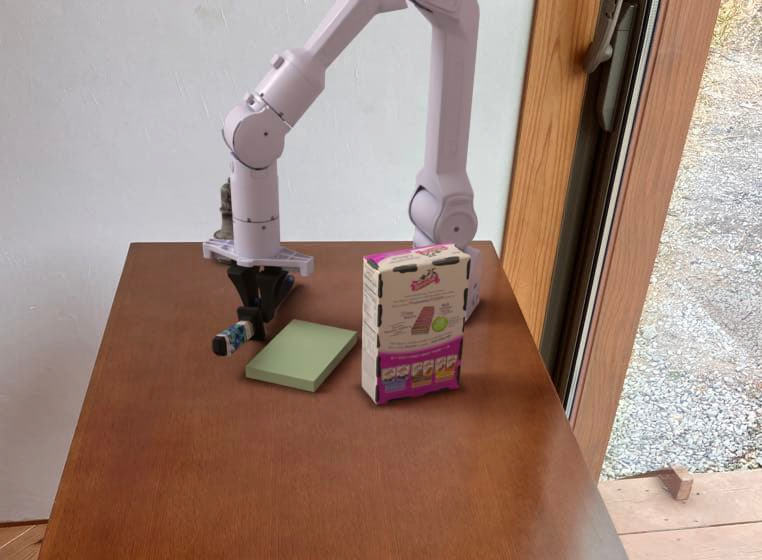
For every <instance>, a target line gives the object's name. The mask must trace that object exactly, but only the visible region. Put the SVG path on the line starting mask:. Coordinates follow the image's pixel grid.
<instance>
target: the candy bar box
mask: <svg viewBox="0 0 762 560" xmlns="http://www.w3.org/2000/svg"><path fill="white" fill-rule="evenodd" d="M362 257H363V259H362V323H361V324H362V326H361V329H362V330H361V331H362V332H361V341H362V342H361V388H362V389H363V391H364V393H366V394H367V395H368V396H369V398H370V399H371V400H372V401H373V403H374V404H375V405H376V406H382V405H386V404H390V403H396V402H400V401H406V400H409V399H414V398H419V397H423V396H427V395H428V396H429V395H433V394H436V393H441V392H446V391H450V390H451V391H452V390H455V389H459V388H460V382H461V381H460V380H461V371H462V370H461V369H462V359H463V348H464V337H465V325H466V322H465V317H466V306H467V297H468V285H469V275H470V263H471V256H470V255H469V254H467V253H466V252H464V251H463V250H462V249H460V248H459V247H456V244H454V243H452V242H449V243H443V244H437V245H430V246H423V247H417V248H413V247H411V248H405V249H399V250H398V249H397V250H393V251H386V252H381V253H374V254H368V255H363V256H362Z"/></svg>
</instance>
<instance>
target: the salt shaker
mask: <svg viewBox="0 0 762 560" xmlns="http://www.w3.org/2000/svg"><path fill="white" fill-rule="evenodd" d="M226 181H227V182H226V183H224V184H222V185H221V186H220V191H219V192H220V203H221V206H220V207H219V208H218V211H219V212H220V214H221V228H220V229H218V230H216V231H215V232H213V235H212V236H213V239H220V240H234V232H233V216H232V201H231V185H230V176H228V178H227V179H226ZM216 259H217V261H218V262H219V263H222V264H224V265H228V266H230V264H231V261H230V260H225V259H219V258H216Z"/></svg>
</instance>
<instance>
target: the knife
mask: <svg viewBox="0 0 762 560" xmlns="http://www.w3.org/2000/svg"><path fill="white" fill-rule="evenodd" d="M295 280H296V277H295V276H294V275H293V274H288V275H287V277H286V279H285V281H284V283H283V285H282V288H281V290H280V293H279V296H278V300H277V304H276V309H277V308H278V307H279V306H280V305H281V303H282V302H283V301H284V300H285V298H286V297H287V296H288V294H289V293H290V292H291V290H292V288H293V286H294V284H295ZM236 315H237V319H238V322H237V323H235V324H233V325H232V326H230V327H229V328H227V329H225V330H223V331H221V332H219V333H218V334H216V335H215V336H214V337H213V339H212V340H211V351H212V352H213V354H214V355H216V356H217V357H218V358H222V359H228V358H229V357H231V356H232V355H233V354H234V353H235V352H236V351H237V350H239V348H240V347H242V346H243V345H244V344H245V343H247V341H249V340H256V341H257V340H258V341H259V340H260V341H264V340H266V339H265V338H266V335H267V334H266V329H265V328H266V327H265V323H263V318H262V308H261V296H259V298H257V297H256V298H255V307H244V305H239V306H238V307H237V309H236Z"/></svg>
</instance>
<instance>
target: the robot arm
mask: <svg viewBox="0 0 762 560" xmlns="http://www.w3.org/2000/svg"><path fill="white" fill-rule="evenodd" d="M408 1H409V2H410V3H412V5H413V6H414V7H415V8H416V10H418V11H419V13H420V14H421V15H422V16H423V17H424V18H425V19H426V20H427V22H428V23H429V24H430V25H431V43H430V58H429V74H428V75H429V77H428V90H427V91H428V93H427V108H426V109H427V110H426V128H425V144H424V160H423V166H422V167H421V169H420V170H419V171H418V172H417V174H416V176H415V185H414V188H413V192H412V194H411V195H410V197H409V200H408V202H407V203H408V204H407V215H408V219H409V220H410V222H411V223H412V225H413V226H414V234H413V237H412V248H417V247H423V246H430V245H437V244H443V243H449V242H452V243H454V244H456V247H459V248H460V249H462V250H463V251H464V252H466V253H467V254H469V255H470V256H471V263H470V275H469V285H468V297H467V306H466V317H465V323H466V322H467V321H468V320H469V318H470V316H471V315H472V313H473V312H474V311H475V309H476V308H477V306H478V305H479V303H480V290H481V281H482V275H483V274H482V273H483V266H484V252H483V250H481V249H478V248H475V247H473V246H470V244H471V243H472V242H473V240H474V239H475V237H476V235H477V232H478V227H479V220H478V216H477V213H476V210H475V207H474V200H475V199H474V197H475V193H474V189H473V187H472V184H471V181H470V178H469V176H468V172H467V163H468V162H467V161H468V152H469V151H468V150H469V142H470V141H469V138H470V128H471V120H472V119H471V118H472V108H473V107H472V106H473V94H474V86H475V85H474V83H475V74H476V73H475V72H476V62H477V51H478V50H477V49H478V40H479V29H480V19H481V18H480V16H481V13H480V11H481V10H480V9H481V8H480V4H479V1H478V0H408ZM408 5H409V4H408V3H407V1H406V0H335V2H334V4H333V5H332V7H330V9H329V10H328V12H327V14H326V15H325V16H324V18H322V21H321V22H320V23H319V24H318V26H317V27H316V28H315V30H314V32H313V33H312V34H311V35H310V37H309V38H308V40H307V41H306V43H305V44H304V45H303V46H301V47H296V48H295V47H294V48H287V49H285V51H284V52H283V54H282V55H280V54H278V53H275V54H274V55H273V56H272V58H271V59H270V60H269V65H271V68H270V69H269V70H268V72H267V73H266V74H265V76H264V77H263V78H262V80H260V82H259V83H258V84H257V86H255V88H254V90H253V91H252V92H251V93H250V91H246V93H245V95H244V96H243V97H242V100H243V102H245V103H241V105H236V106H234V107H233V108H232V109H231V110H230V111H229V113H228V114H227V116H226V117H225V120H224V126H223V128H221V130H220V132H221V136H222V139H223V142H224V143H225V145H226V146H227V148H228V149H229V150H230V152H229V168H230V173H229V174H230V176H229V177H230V185H231V201H232V216H233V232H234V240H220V239H215V238H208V239H207V240H205V241H204V242H202V251H203V258H204V259H208V260H212V259H213V258H214V259H217V258H219V259H225V260H230V261H231V264H230V265H229V267H228V268H227V269H226V275H227V278H228V279H229V280H230V281H231V283H232V285H233V286H234V288H235V290H236V292H237V293H238V295H239V298H240V300H241V302H242V306H244V307H255V298H256V297H257V298H260V297H261V308H262V318H263V323H264V324H270V322H271V321H273V320H274V319H275V315H276V310H277V308H276V304H277V300H278V296H279V293H280V290H281V288H282V285H283V283H284V281H285V279H286V277H287V275H289V274H290V273H295V274H300V275H299V276H300V277H303V278H309V277H311V275H312V274H313V273H314V272H315V257H314V256H311V255H306V254H304V253H301V252H298V251H295V250H294V249H293V250H292V249H291V248H287V247H286V246H282V245H281V219H280V217H281V215H280V196H279V195H280V185H279V183H280V182H279V174H278V159H280V158H281V157H282V155H283V152H284V149H285V139H286V135H287V134H288V133H289V132H291V130H292V129H293V128H294V127H295V126H296V124H297V123H298V122H299V120H300V119H301V118H302V117H303V116H304V114H305V113H306V112H307V111H308V110H309V108H310V107H311V106H312V105H313V104H314V102H315V101H316V100H317V99H318V98H319V96H320V95H321V94H322V93H323V92H324V90H325V89H326V71H327V69H328V68H329V67H330V66H331V65H332V64H333V62H335V61H336V59H337V58H338V57H339V56H340V55H341V54H342V53H343V51H344V50H345V49H346V48H348V46H349V45H350V44H351V43H352V42H353V40H354V39H355V38H356V37H357V36H358V35H359V34H360V33H361V31H363V30H364V28H365V27H366V26H368V24H369V23H371V20H373V19H374V17H375V16H377V15H379V14H385V13H390V12H395V11H402V10H406V9H408V8H409V6H408ZM261 267H262V268H263V269H262V270H261Z"/></svg>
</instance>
